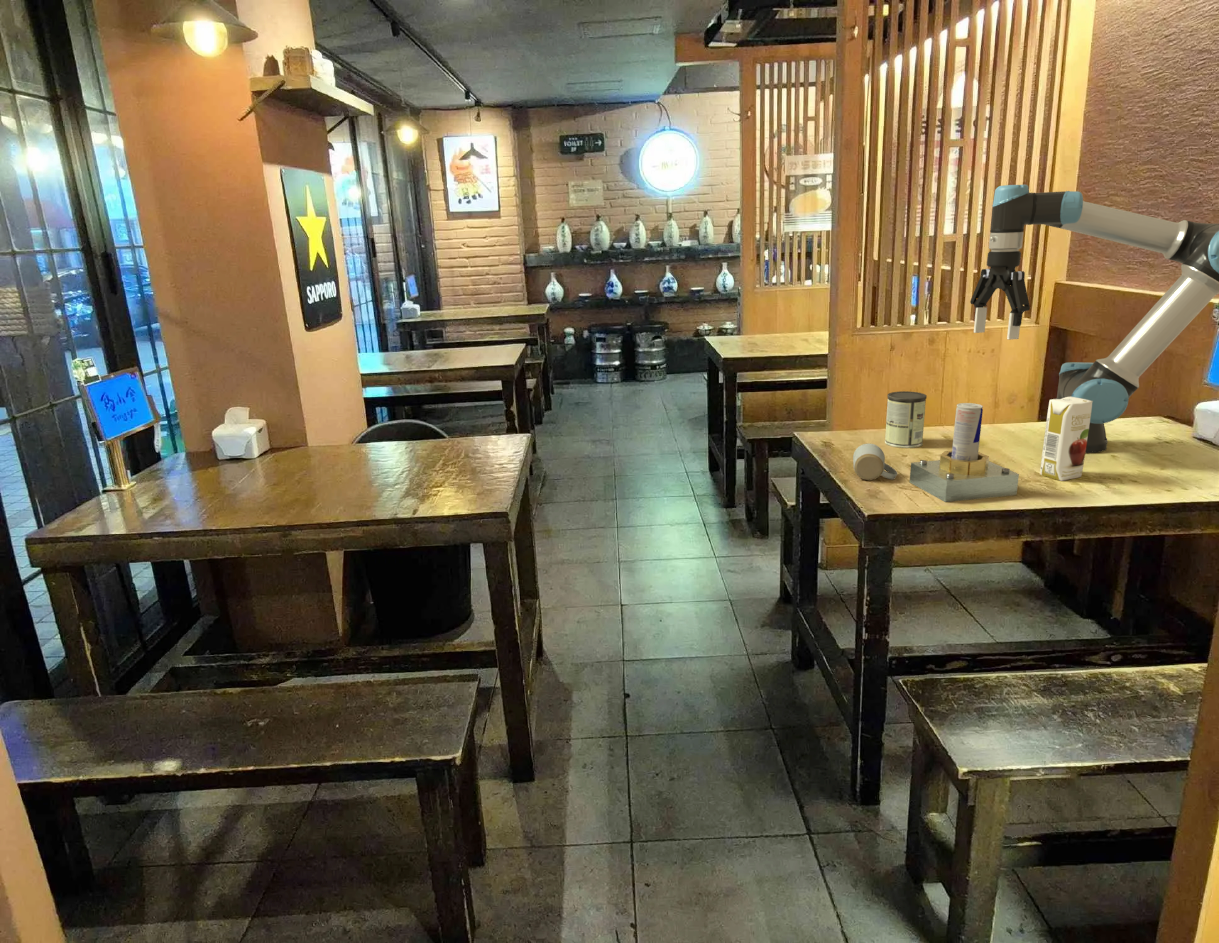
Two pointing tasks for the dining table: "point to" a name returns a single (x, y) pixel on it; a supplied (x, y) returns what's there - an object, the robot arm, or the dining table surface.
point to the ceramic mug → (871, 463)
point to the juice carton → (1065, 438)
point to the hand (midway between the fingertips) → (995, 335)
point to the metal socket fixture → (963, 478)
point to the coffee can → (905, 419)
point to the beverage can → (967, 431)
